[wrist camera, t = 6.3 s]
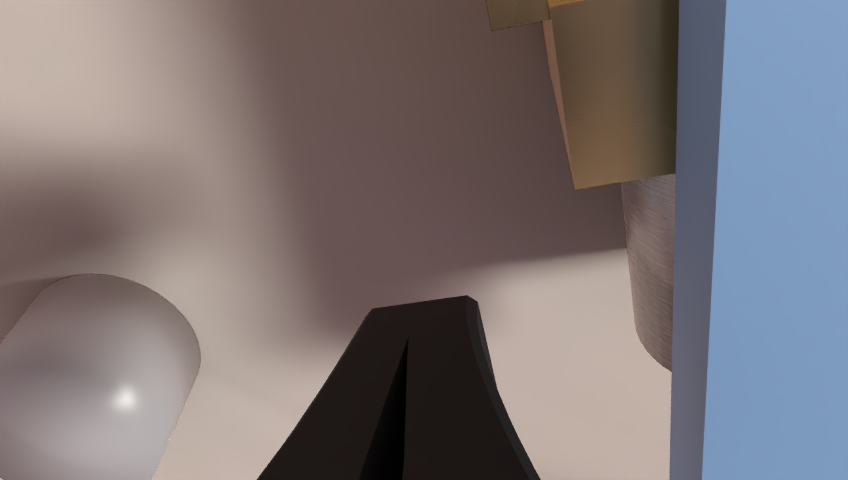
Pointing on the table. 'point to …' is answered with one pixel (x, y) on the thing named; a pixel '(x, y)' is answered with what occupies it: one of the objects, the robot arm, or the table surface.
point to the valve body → (619, 127)
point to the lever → (761, 242)
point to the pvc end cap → (93, 381)
